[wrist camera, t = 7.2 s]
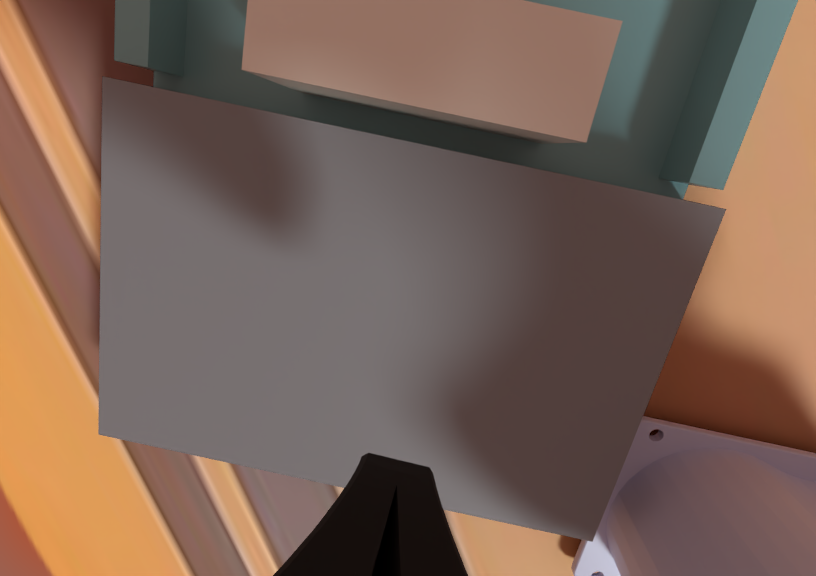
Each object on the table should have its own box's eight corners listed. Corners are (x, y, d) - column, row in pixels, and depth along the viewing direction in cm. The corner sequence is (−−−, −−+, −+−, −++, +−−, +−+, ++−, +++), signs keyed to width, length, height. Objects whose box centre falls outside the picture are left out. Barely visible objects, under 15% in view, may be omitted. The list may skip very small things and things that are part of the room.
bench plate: (675, 198, 16) (726, 209, 13) (570, 484, 20) (592, 541, 17) (161, 88, 16) (102, 76, 13) (148, 392, 20) (98, 434, 17)
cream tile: (541, 143, 16) (563, 61, 15) (586, 142, 11) (623, 21, 10) (302, 93, 16) (313, 8, 15) (241, 69, 11) (252, -57, 10)
